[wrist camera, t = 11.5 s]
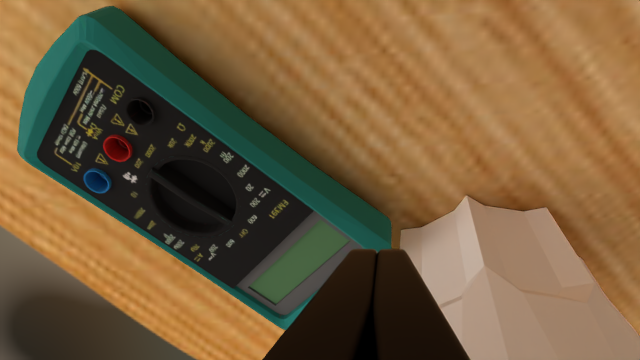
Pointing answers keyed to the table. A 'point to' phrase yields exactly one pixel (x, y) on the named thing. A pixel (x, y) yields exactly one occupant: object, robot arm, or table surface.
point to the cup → (516, 287)
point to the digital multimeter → (188, 167)
